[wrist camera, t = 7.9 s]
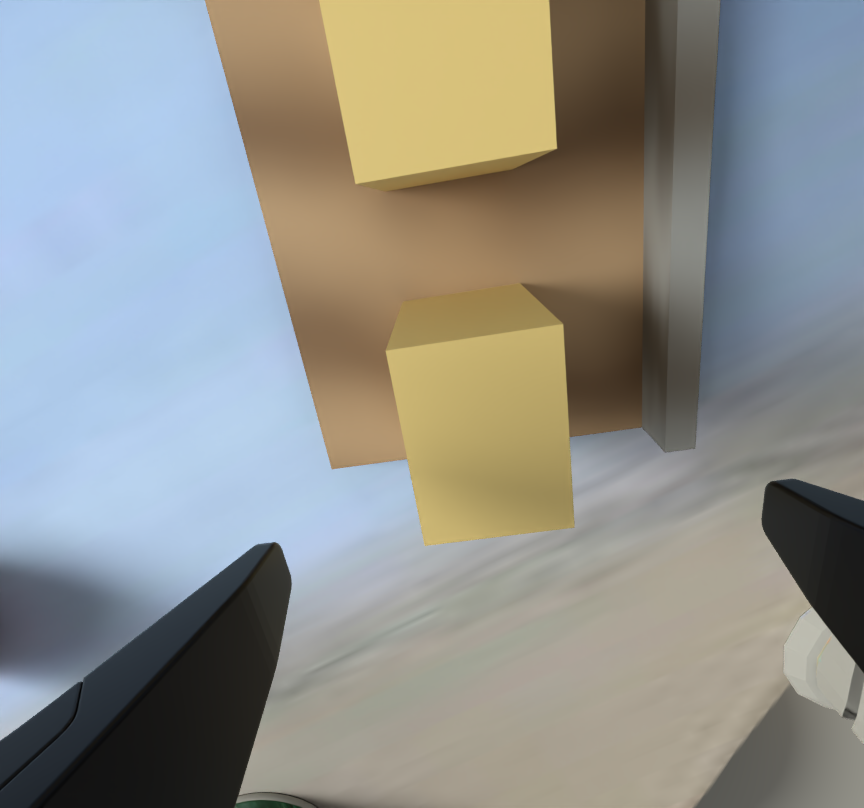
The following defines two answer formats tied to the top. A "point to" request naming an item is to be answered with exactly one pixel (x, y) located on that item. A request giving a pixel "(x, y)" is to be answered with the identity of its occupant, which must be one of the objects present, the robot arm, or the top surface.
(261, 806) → the canned tomato
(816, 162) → the top surface
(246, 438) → the top surface
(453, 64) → the tea box
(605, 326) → the shelf board
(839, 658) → the french press
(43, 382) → the top surface
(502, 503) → the tea box turned
